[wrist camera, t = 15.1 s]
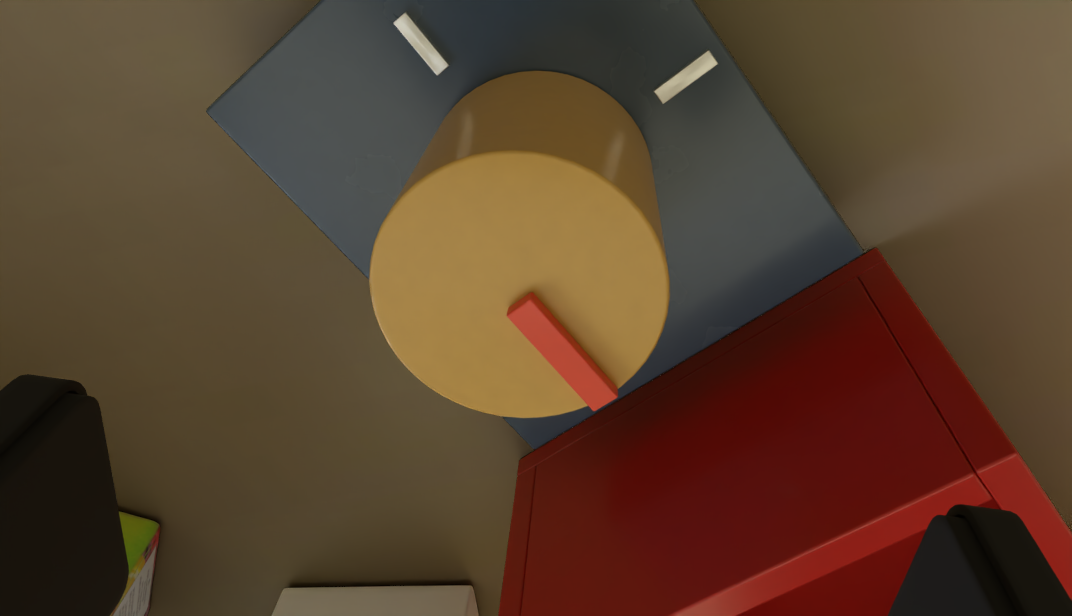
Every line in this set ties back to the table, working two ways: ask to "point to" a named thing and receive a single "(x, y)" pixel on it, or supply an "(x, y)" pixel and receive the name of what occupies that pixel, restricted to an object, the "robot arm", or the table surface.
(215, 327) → the table surface
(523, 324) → the valve knob
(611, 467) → the red box
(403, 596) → the milk carton
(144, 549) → the snack box
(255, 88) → the valve panel
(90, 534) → the robot arm
